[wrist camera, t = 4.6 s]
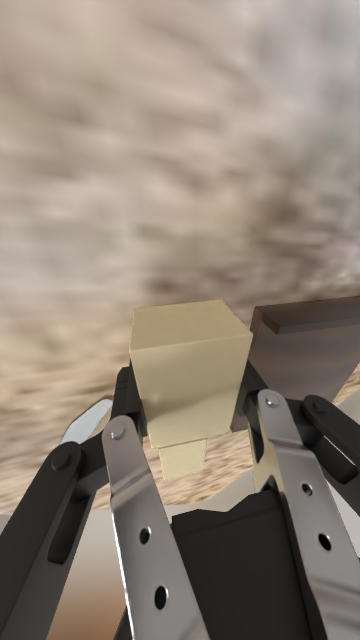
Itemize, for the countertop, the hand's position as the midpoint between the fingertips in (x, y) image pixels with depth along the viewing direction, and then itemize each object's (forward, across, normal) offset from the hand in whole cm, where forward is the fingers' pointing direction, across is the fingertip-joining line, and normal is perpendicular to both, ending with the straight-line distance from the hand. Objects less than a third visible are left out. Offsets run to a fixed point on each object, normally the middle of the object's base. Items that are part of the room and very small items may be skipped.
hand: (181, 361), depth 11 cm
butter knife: (+3, +15, +17) cm, 23 cm away
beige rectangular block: (0, 0, 0) cm, 0 cm away
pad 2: (+3, 0, +16) cm, 16 cm away
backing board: (+3, -14, +8) cm, 16 cm away
